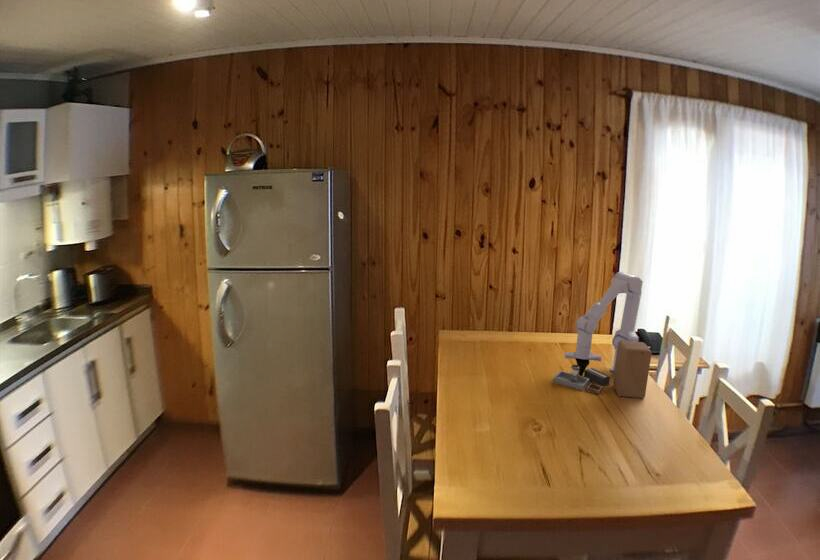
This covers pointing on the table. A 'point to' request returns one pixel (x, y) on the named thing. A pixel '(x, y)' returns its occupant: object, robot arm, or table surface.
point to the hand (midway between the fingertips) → (580, 374)
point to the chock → (597, 377)
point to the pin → (575, 373)
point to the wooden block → (631, 369)
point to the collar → (594, 389)
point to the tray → (565, 380)
